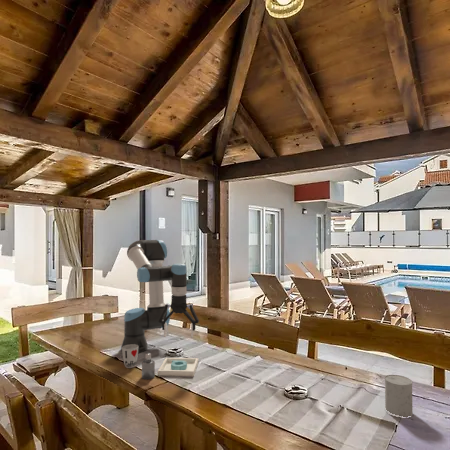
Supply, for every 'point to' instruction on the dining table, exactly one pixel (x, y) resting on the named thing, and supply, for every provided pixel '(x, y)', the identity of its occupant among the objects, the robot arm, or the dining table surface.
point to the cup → (130, 355)
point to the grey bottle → (148, 368)
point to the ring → (178, 365)
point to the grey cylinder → (398, 395)
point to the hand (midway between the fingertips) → (178, 336)
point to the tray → (167, 371)
